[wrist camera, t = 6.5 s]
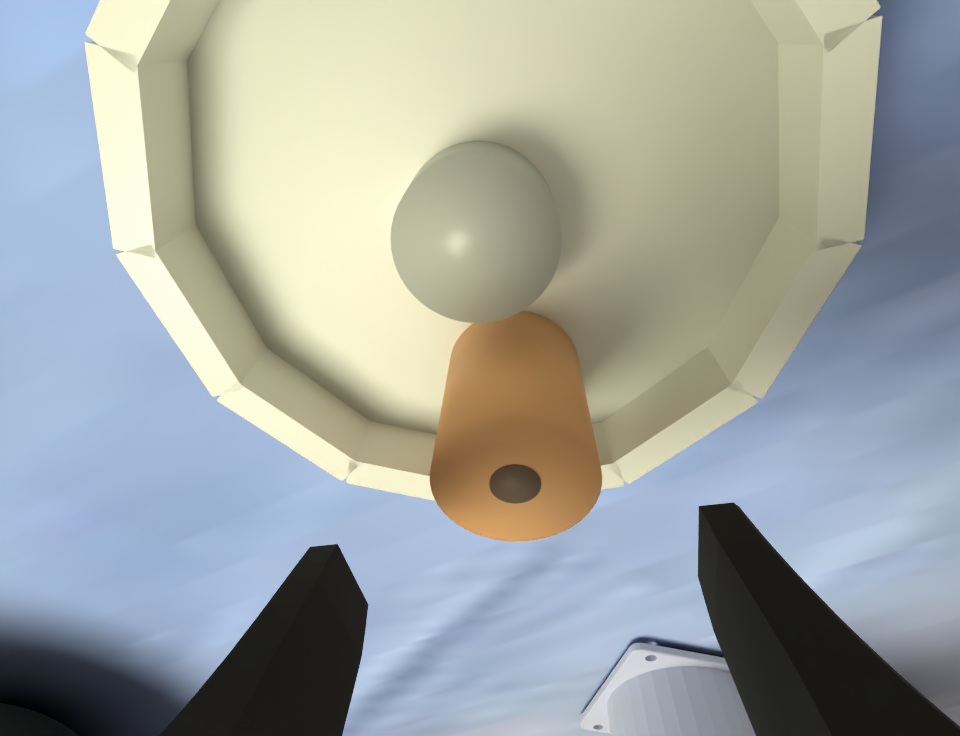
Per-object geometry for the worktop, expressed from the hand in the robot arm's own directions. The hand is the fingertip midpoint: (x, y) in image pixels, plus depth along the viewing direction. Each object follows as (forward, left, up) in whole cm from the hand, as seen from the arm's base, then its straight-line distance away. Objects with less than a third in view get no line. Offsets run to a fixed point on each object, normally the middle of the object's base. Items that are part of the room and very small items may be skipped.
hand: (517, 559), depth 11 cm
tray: (+2, -4, -8) cm, 9 cm away
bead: (0, 0, -7) cm, 7 cm away
